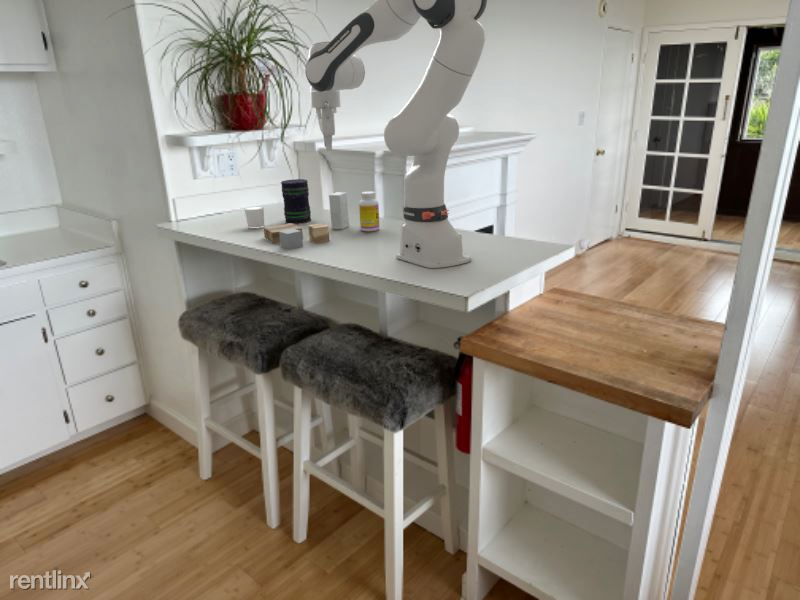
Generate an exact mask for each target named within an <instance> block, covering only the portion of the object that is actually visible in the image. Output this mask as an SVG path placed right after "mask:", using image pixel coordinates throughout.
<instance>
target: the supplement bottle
mask: <svg viewBox="0 0 800 600" xmlns="http://www.w3.org/2000/svg"><path fill="white" fill-rule="evenodd" d="M360 195H361V200H359V202H358V207H359V208H358V211H359V226H360V227H359V228H360V230H361V231H363V232H375V231H378V230H379V229H380V228H381V226H380V211H379V210H380V209H379V208H380V207H379V201H378V199H376V198H375V197H376V192H375V191H370V190H369V191H362V192H361V193H360Z"/></svg>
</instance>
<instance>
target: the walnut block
mask: <svg viewBox="0 0 800 600" xmlns="http://www.w3.org/2000/svg"><path fill="white" fill-rule="evenodd" d="M262 228H263V235H264V239H265V238H266V240H267V239H268V240H269V241H268V240H267V241H268V242H270V241H271V242H272V243H271V242H270V243H271V244H272V245H276V244H280V236H279V231H284V230H288V229H296V230H300V231H301V232H302V240H304V234H303V228H302V227H300V226H299V225H297V224H293V223H290V224H288V223H284V224H278V225H270V226H264V227H262ZM275 243H276V244H275Z"/></svg>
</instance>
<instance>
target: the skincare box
mask: <svg viewBox="0 0 800 600" xmlns="http://www.w3.org/2000/svg"><path fill="white" fill-rule="evenodd" d="M328 198H329V199H328V200H329V211H330V221H331V229H333V230H343V229H345V228H347V227H349V226H350V219H349V208H348V207H349V206H348V194H347V192H346V191H345V192H344V191H336V192H334V193H331V194H329V195H328Z"/></svg>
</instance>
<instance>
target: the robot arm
mask: <svg viewBox="0 0 800 600" xmlns="http://www.w3.org/2000/svg"><path fill="white" fill-rule="evenodd" d="M487 3H488V0H374V2H373V3H371V5H370V6H369V7H367V8H366V9H364V11H363V12H361V13H359V14H358V15H357V16H355V18H354V19H351V21H350V22H349V23H348V24H347V25H346V26H345V27H343V29H342V30H341V31H340V32H339V33H338V34H337V35H336V36H334V38H333V39H332V40H331V41H321V42H316V43H314V44H312V45H311V46H310V48H309V51H308V60H306V61H307V62H306V65H305V70H304V71H305V72H304V73H305V77H306V80H307V82H308V83H309V85H310V88H309V92H310V93H309V94H310V95H309V96H310V107H311V108H313V109H314V110H315V114H317V120H318V125H319V130H320V132H321V134H322V135H323V143H324V144H323V145H324V147H325V149H326V151H332V150H333V136H335V134H336V127H335V125H336V124H335V123H336V122H335V114H336V113H337V111H338V110H337V108H340V107H341V93H340V91H344V90H354V89H357V88H359V87H361V85H362V84H363V81H364V79H365V74H366V69H365V65H364V63H363V61H362V59H361V58H360V57H359V56H358V55H355V54H356V53H357V52H358V51H359V50H361V49H362V48H364V47H367V46H371V45H373V44H379V43H385V42H391V41H396V40H399V39H400V38H402V37H404V36H405V35H406V34H408V33H409V32H410V31H411V30H412V29H413V28H414V27H415V26H416V25H417V24H418V22H419V21H420V20H421V19H422V18H423V19H424V20H425V21H426V22H427V23H428V25H429V26H430V27H431V28H432V29H434V30H437V29H439V34H440V35H439V41H438V42H437V46H436V47H435V50H434V52H433V55H432V57H431V59H430V61H429V64H428V66H427V68H426V70H425V73H424V76H423V78H422V80H421V82H420V83H419V86H418V87H417V89H416V90H415V92H414V93H413V94H412V96H411V98H410V99H408V101H407V103H405V105H404V106H403V108H402V109H401V110H400V111H399V112H398V113H397V114H396V115H395V116H393V117H392V118H391V119H390V120H388V122H387V123H386V124H385V127H384V132H383V138H384V143H385V145H386V147H387V149H388V150H389V151H390V152H391V153H392V154H394V155H397V156H403V157H412V158H413V159H412V161H411V165H410V167H409V169H408V171H407V172H406V173H405V175H404V178H403V190H404V192H403V193H404V205H403V210H402V213H403V218H404V222H403V224H402V225H401V228H400V231H399V233H400V235H399V252H397V253H396V254H395V258H396V259H398V260H401V261H405V262H408V263H411V264H415V265H419V266H421V267H425V268H428V269H439V268H440V269H441V268H448V267H453V266H459V265H463V264H465V263H469V262H471V261H472V256H471V255H469V254H468V253H466V252H465V251H463V242H462V241H463V240H462V239H463V236H462V234H461V233H458V232H457V230H456V229H455V227H454V226H453V225H452V224H451V222H450V221H449V214H450V213H449V211H450V210H449V209H447V206H446V203H445V173H446V168H447V164H448V160H449V157H450V153H451V151H452V148H453V146H455V143H457V141H458V138H459V135H460V126H459V123H458V121H457V119H456V118H455V117H454V116H453V114H450V112H451V111H452V110H453V109H455V108H456V107H457V106H459V104H460V103H461V101H462V98H463V96H464V94H465V93H466V91H467V88H468V86H469V84H470V82H471V81H472V77H473V76H474V73H475V72H476V70H477V66H478V64H479V62H480V58H481V56H482V53H483V49H484V46H485V42H486V38H487V37H486V36H487V35H486V31H485V29H484V26H483V25H482V24H481V23H480V22H479V21H478V20H479V19H480V18H481V17H482V16H483V14H484V12H485V10H486V7H487Z"/></svg>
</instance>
